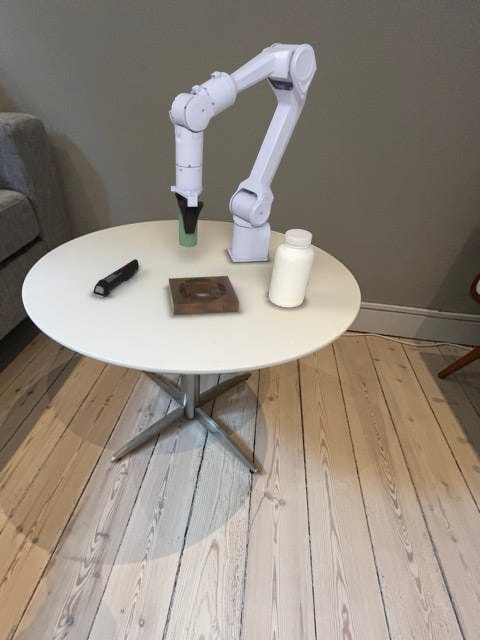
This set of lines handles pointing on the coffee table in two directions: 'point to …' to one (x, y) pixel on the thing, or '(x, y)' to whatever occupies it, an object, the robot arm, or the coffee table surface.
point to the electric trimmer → (115, 278)
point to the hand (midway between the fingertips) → (188, 229)
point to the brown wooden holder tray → (215, 302)
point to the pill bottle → (292, 269)
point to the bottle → (184, 238)
